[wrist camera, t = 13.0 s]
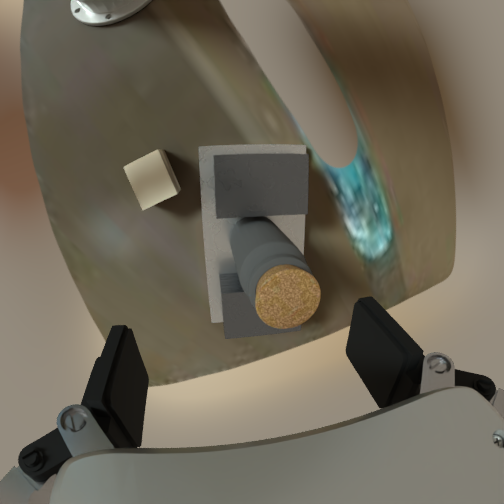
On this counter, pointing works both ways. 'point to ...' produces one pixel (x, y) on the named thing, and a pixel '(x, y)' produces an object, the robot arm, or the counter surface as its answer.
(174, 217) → the counter surface
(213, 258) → the board
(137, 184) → the loose block
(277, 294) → the bottle
